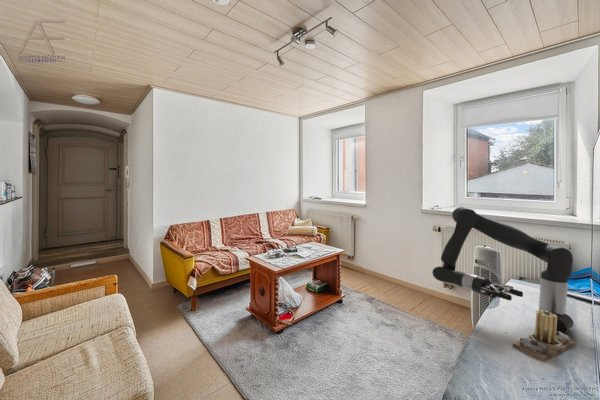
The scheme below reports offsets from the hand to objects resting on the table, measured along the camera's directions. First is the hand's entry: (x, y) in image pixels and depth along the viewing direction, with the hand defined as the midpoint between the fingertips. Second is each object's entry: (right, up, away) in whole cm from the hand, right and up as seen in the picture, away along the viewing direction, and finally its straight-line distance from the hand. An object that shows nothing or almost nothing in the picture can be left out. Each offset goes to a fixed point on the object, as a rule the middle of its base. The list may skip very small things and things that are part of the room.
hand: (516, 296), depth 108 cm
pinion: (+4, -14, -8) cm, 17 cm away
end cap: (+19, -16, +3) cm, 25 cm away
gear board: (+4, -16, -8) cm, 18 cm away
